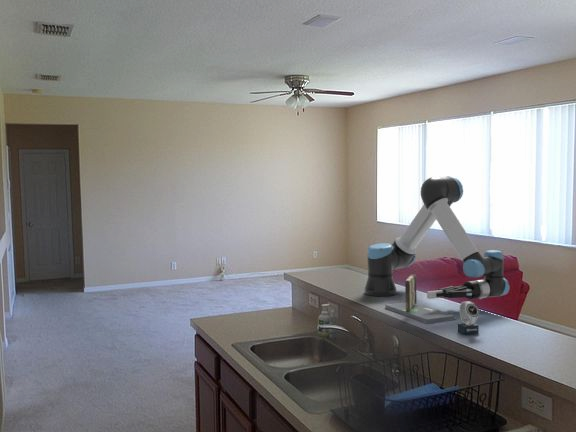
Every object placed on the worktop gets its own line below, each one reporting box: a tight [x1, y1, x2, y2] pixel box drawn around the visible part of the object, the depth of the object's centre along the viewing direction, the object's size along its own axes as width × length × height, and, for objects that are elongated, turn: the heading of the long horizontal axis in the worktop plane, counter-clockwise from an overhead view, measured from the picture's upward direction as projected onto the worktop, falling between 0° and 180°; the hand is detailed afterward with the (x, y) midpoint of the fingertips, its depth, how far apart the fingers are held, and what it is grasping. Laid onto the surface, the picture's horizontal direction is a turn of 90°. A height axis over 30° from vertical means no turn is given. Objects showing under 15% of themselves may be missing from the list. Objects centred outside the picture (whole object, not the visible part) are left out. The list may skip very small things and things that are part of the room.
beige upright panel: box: [404, 274, 417, 311], centre depth 222 cm, size 15×3×12 cm, turn 158°
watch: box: [457, 300, 480, 336], centre depth 190 cm, size 6×8×11 cm
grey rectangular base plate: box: [385, 301, 456, 324], centre depth 219 cm, size 28×13×2 cm, turn 23°
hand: (428, 295), depth 217 cm, fingers closed
